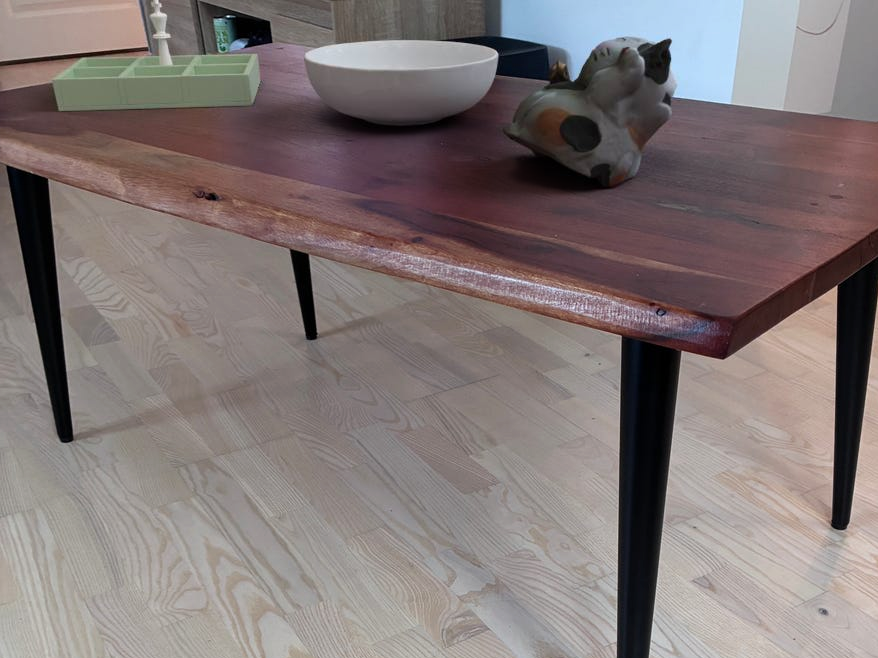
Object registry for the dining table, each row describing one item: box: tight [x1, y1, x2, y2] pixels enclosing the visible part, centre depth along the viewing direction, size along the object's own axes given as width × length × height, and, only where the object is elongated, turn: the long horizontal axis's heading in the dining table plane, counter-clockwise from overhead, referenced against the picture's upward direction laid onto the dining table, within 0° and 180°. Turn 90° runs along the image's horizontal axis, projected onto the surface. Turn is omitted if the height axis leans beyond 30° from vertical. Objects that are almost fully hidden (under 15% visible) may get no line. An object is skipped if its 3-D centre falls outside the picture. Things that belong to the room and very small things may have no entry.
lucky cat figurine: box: [502, 36, 678, 188], centre depth 81 cm, size 15×12×14 cm
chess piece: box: [149, 0, 173, 65], centre depth 113 cm, size 5×5×10 cm
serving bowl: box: [303, 39, 499, 127], centre depth 101 cm, size 21×21×7 cm
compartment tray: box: [51, 53, 261, 112], centre depth 112 cm, size 22×15×4 cm
